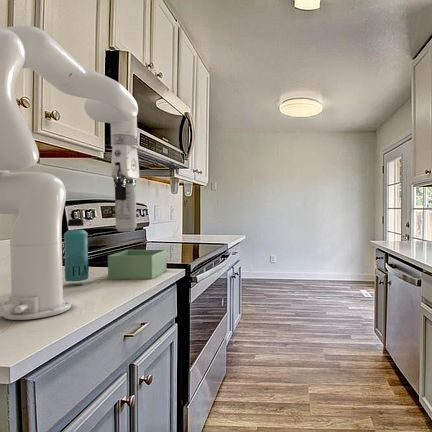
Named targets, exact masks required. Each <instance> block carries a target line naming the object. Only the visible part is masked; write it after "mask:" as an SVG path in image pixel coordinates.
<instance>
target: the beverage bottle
mask: <svg viewBox="0 0 432 432" xmlns="http://www.w3.org/2000/svg"><path fill="white" fill-rule="evenodd" d="M67 227H84V219H83V218H71V219H68V220H67ZM88 235H89V234H88V232H87V231H86V230H84V229H68V230H67V231H66V232H64V234H63V239H64V242H63V244H64V280H65V282H70V283H71V282H82V281H86V280H88V279H89V272H90V270H89V269H90V267H89V240H88V239H89V238H88Z"/></svg>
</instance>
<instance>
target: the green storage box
mask: <svg viewBox="0 0 432 432" xmlns="http://www.w3.org/2000/svg"><path fill="white" fill-rule="evenodd" d="M167 266H168V265H167V249H125V250H123V251H119V252H116V253H112V254H109V255H107V279H108V280H152V279H154V278H157V276H159V275H161V274H163V273H164V272H166V271H167Z"/></svg>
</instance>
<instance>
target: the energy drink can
mask: <svg viewBox="0 0 432 432" xmlns="http://www.w3.org/2000/svg"><path fill="white" fill-rule="evenodd" d="M125 187H126V200H115V199H114V208H115V209H114V211H115V212H114V213H115V229H116V230H117V232H135V230H136V229H137V189H136V187H134V185H133V184H132V183H129V182H128V183H125Z"/></svg>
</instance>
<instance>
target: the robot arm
mask: <svg viewBox="0 0 432 432" xmlns="http://www.w3.org/2000/svg"><path fill="white" fill-rule="evenodd" d="M22 69H29V70H31V71H33V72H34V73H35V74H37V75H38V76H40V77H41V78H42V79H44V80H45V81H46V82H48V83H49V84H50V85H52V86H53V87H54V88H56V89H57V90H58V91H60V92H61V93H63V94H66V95H69V96H72V97H76V98H80V99H86V100H85V102H84V105H83V107H84V111H85V113H86V115H87V117H88V118H90V119H91V120H93V121H96V122H98V123H104V124H105V123H106V124H110V147H111V148H112V149H111V177H112V179H113V187H114V201H115V200H126V187H125V183H132V184H133V185H134V187H135V188H136V187H137V186H136V183H137V180H138V179H140V165H139V154H138V114H139V106H138V102H137V101H136V99H135V98H134V96H133V95H132V93H130V92H129V90H127V89H126V87H124V86H123V84H121V83H120V82H118V81H117V80H115V79H113V78H111V77H109V76H107V75H104V74H102V73H100V72H98V71H96V70H93V69H91V68H88V67H85V66H84V65H82V64H81V63H80V62H79V61H78V60H77V59H76V58H74V57H73V56H72V55H71V54H70V53H69V52H68V51H66V50H65V49H64V48H63V46H62V45H60V44H59V43H58V42H57V41H56V40H54V38H53V37H52V36H50V35H49V34H48V33H47V32H45V30H43V29H41V28H39V27H36V26H34V25H16V26H5V27H0V215H17V216H16V219H15V220H14V222H13V224H12V227H11V229H10V235H9V249H10V287H11V288H10V289H11V296H9V298H8V300H9V301H8V303H7V304H3V305H1V306H0V317H3V318H4V319H7V320H12V321H25V320H26V321H27V320H36V319H42V318H48V317H52V316H56V315H60V314H63V313H66V312H67V311H68V310H70V309H71V307H72V302H70V300H66V299H64V285H63V283H64V281H63V279H64V277H63V240H62V239H63V238H62V237H63V235H62V231H63V230H62V229H63V228H62V227H63V226H62V225H63V224H62V223H63V216H64V210H65V207H66V206H65V205H66V201H67V190H66V186H65V184H64V182H63V181H62V180H61V179H60V178H59V177H57V176H56V175H54V174H51V173H50V172H49V173H48V172H44V171H43V172H42V171H20V170H27V169H29V168H30V169H31V168H32V167H33V166H35V165H36V164H37V163H38V161H39V158H40V152H39V148H38V146H37V143H36V140H35V138H34V137H33V135H32V132H31V130H30V128H29V126H28V124H27V122H26V120H25V118H24V115H23V114H22V111H21V109H20V107H19V104H18V102H17V98H16V90H15V89H16V82H17V79H18V77H19V74H20V72H21V70H22ZM10 171H17V172H10Z"/></svg>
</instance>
